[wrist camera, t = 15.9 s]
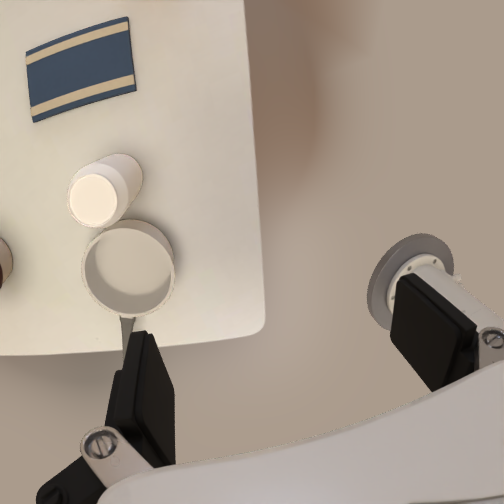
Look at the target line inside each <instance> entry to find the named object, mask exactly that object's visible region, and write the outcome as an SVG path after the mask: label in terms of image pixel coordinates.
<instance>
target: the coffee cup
mask: <svg viewBox="0 0 504 504" xmlns="http://www.w3.org/2000/svg"><path fill="white" fill-rule="evenodd" d="M11 270H12V256H11V252H10V250H9V248H8V246H7V245H6V243H5V242H4V241H3V240H2V239H1V238H0V288H1V286H2V284H3V283H4V281H5V280H6V279H7V277H8V276H9V274H10V273H11Z"/></svg>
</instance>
